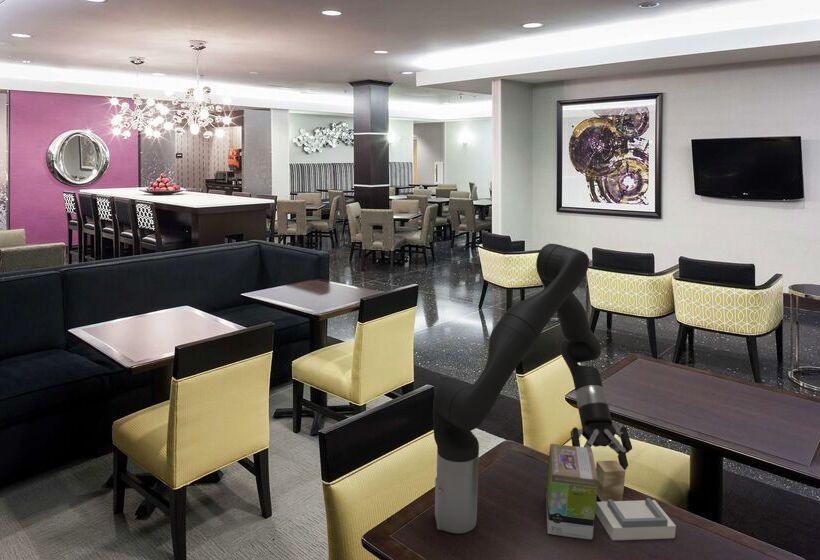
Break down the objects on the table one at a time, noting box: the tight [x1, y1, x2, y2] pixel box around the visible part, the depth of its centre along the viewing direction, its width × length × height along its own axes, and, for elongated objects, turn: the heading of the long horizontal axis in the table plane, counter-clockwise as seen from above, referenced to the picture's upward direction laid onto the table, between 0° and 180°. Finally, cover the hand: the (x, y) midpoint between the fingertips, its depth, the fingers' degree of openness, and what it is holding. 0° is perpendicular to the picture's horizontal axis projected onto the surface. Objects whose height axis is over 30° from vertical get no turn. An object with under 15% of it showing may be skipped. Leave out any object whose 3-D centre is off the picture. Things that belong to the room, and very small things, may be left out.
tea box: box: [545, 443, 598, 541], centre depth 136 cm, size 15×10×15 cm
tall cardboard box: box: [595, 460, 626, 502], centre depth 144 cm, size 5×5×9 cm
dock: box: [595, 497, 677, 541], centre depth 134 cm, size 14×10×4 cm
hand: (607, 470), depth 145 cm, fingers open, 8 cm apart
